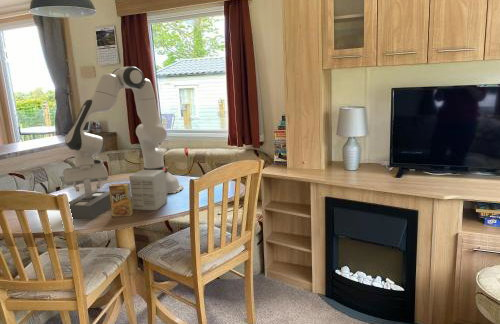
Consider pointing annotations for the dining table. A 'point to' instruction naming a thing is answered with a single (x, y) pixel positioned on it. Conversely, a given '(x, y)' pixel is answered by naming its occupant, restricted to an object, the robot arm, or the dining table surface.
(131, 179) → the supplement box
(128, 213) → the candy box
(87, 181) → the steel stylus
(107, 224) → the dining table surface
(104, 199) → the board
